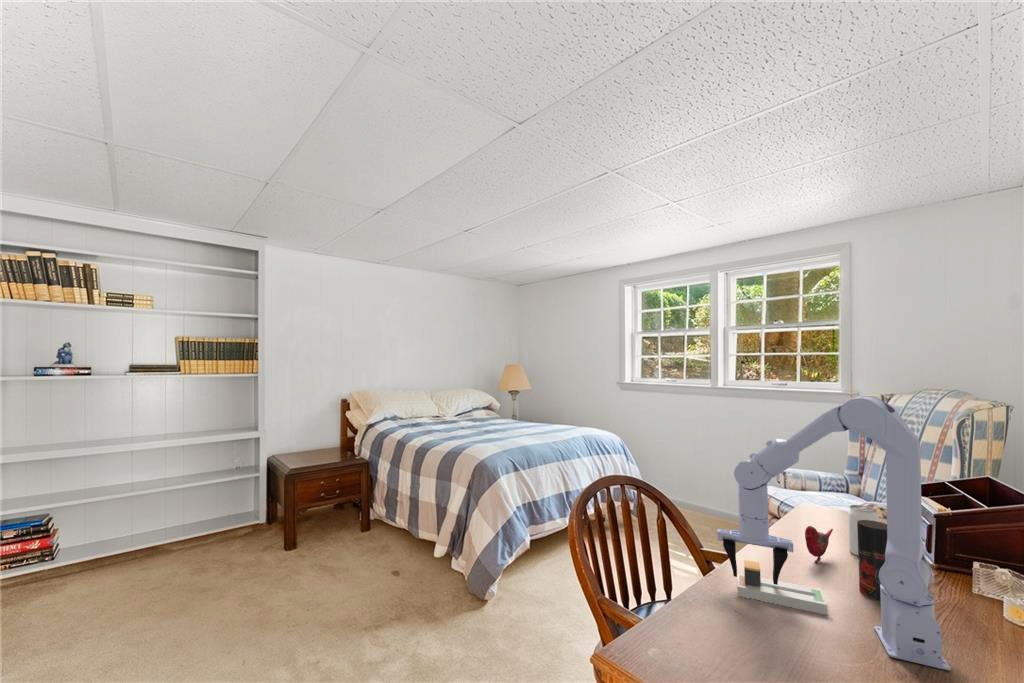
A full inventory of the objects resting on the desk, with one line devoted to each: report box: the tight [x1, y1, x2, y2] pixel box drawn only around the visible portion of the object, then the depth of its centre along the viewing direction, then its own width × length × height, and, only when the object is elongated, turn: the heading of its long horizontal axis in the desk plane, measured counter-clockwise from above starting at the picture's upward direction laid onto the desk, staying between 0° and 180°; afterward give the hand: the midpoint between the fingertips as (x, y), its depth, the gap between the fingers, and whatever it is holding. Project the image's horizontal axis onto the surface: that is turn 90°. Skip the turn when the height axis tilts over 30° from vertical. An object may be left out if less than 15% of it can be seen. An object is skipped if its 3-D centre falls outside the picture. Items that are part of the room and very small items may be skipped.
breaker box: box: [736, 572, 829, 616], centre depth 96 cm, size 7×16×2 cm, turn 63°
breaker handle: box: [743, 559, 761, 586], centre depth 98 cm, size 4×3×3 cm
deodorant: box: [857, 520, 887, 603], centre depth 98 cm, size 6×6×15 cm
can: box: [847, 504, 880, 557], centre depth 119 cm, size 6×6×12 cm
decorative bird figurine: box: [804, 525, 834, 565], centre depth 114 cm, size 3×18×10 cm, turn 127°
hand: (754, 578), depth 98 cm, fingers open, 7 cm apart
